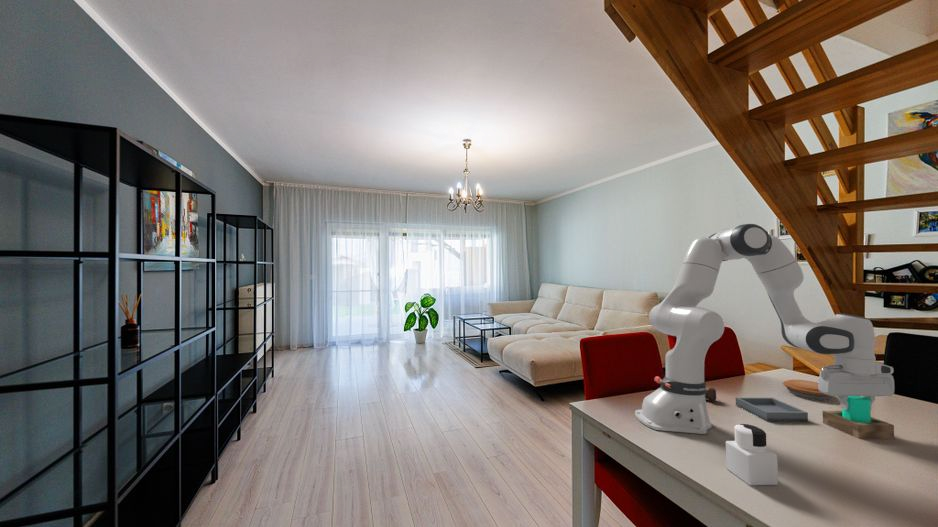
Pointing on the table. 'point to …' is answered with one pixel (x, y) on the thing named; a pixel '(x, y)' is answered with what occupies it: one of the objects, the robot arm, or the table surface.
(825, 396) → the pie
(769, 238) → the robot arm
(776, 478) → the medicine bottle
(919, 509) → the table surface
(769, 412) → the tray
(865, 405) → the teal green prism
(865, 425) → the brown wooden open box
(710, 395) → the dark brown oblong piece
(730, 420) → the table surface
